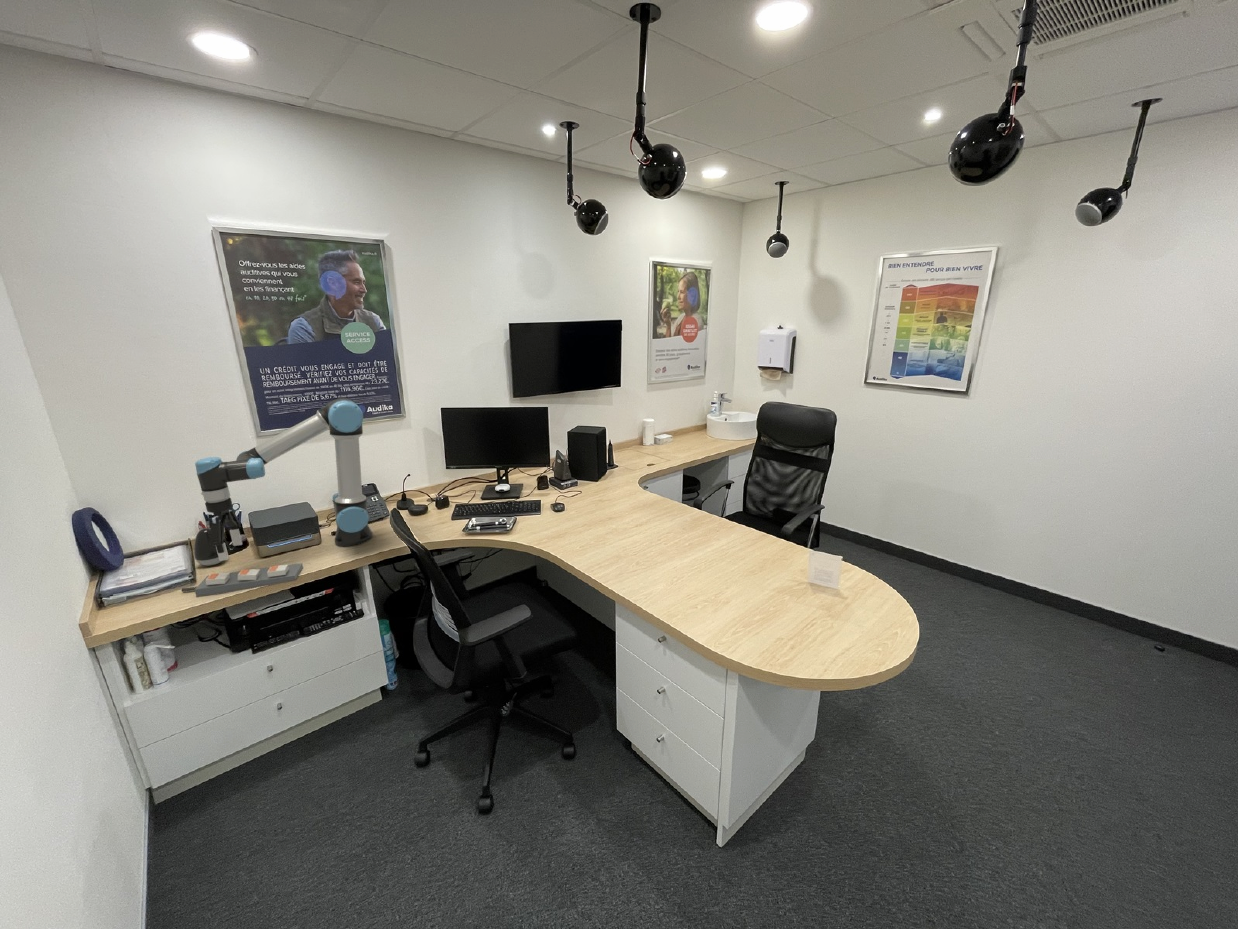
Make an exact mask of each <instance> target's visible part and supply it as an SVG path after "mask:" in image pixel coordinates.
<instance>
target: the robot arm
mask: <svg viewBox="0 0 1238 929" xmlns="http://www.w3.org/2000/svg"><path fill="white" fill-rule="evenodd" d="M363 421H364V414H363V411H362V409H361V408H360V406H359V405H358V404H357V403H356V402H355V401H354V400H352V399H350V398H347V397H340V398H339V397H338V398H337V399H334V400H331V402H329V403H327V404H325V406H323V407H321V408H319V409H318V410H316V414H314V415H312V416H310V417H308V418H306V419H304V420H303V421H301V422H299V423H297V424H294V426H291V427H289V428H288V429H286V430H284V431H282V432H280V433H278V434H277V435H275V436H272V437H271V438H270V439H267V440H265V441H264V442H262V443H259V444H258V445H256V446H254V447H253V448H251V449H248V450H244V451H243V452H240V453H239V454H238V455H237V457H236V460H231V461H222V459H221V457H217V456H215V457H214V456H213V457H211V456H210V457H204V458H200V459H198V460H196V462H195V463H194V464H195V470H196V475H197V479H198V482H199V485H200V490H201V493H200V495H202V496H203V500H204V501H205V502H204V501H203V502H204V505H205V509H206V512H208V513H211V514H213V517H209V524H210V529H211V545H215V546H216V550H217V553H218V557H219V561H221V562H223V561H229V560H230V557H229V553H228V550H227V549H228V548H227V546H226V542H224V541H225V540H224V539H225V537H224V536H225V527H226V526H228V527H229V529H230V530H229V534H230V538H231V541H232V546H234V547H235V546H242V545H243V541H242V536H241V532H240V529H241V528H242V525H241V521H240V520H239V519H238V516H237V515H236V513H235V510H234V508H233V501H232V498H231V494H230V489H229V486H228V483H233V482H239V481H247V480H248V481H249V480H256V479H259V478H260V479H261V478H264V477H265V475H266V469H265V468H266V467H265V465H267V464H269V463H270V462H272V461H273V460H275V459H277V458H279V457H281V456H283V455H284V454H286V453H288V452H290V451H293V450H294V449H296V448H298V447H300V446H301V445H303V444H305V443H307V442H308V441H311V440H312V439H314V438H316V437H318V436H320V435H321V434H323V433H325V432H327V431H329V435H330V436H331V437H332V438H333V440H334V446H335V447H334V448H335V463H336V476H337V478H336V479H337V490H338V491H337V492H336V493H334V494H333V495H332V504H333V510H334V515H335V523H336V531H335V535H334V545H335V546H336V547H338V548H349V547H356V546H359V545H362V544H365V543H368V542H369V541H370V540H372V538H374V535H373V532H372V529H371V527H370V526H369V524H368V523H369V519H370V515H369V512H368V505H367V504H368V502H367V496H366V495H364V494H363V487H362V486H363V485H362V484H363V483H362V471H361V454H360V450H361V449H360V440H359V439H360V437H361V436H362V435H364V432H363V431H364V430H363V423H364V422H363Z"/></svg>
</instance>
